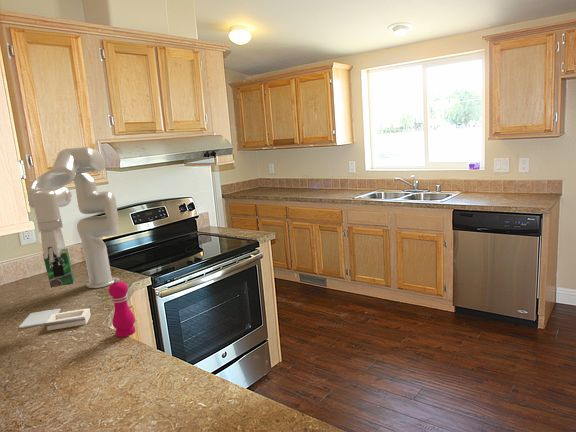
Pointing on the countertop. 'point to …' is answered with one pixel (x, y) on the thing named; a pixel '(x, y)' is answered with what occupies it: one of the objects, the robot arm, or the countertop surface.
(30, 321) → the tile
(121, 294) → the pepper mill
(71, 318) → the caddy
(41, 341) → the countertop surface
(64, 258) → the coffee box
